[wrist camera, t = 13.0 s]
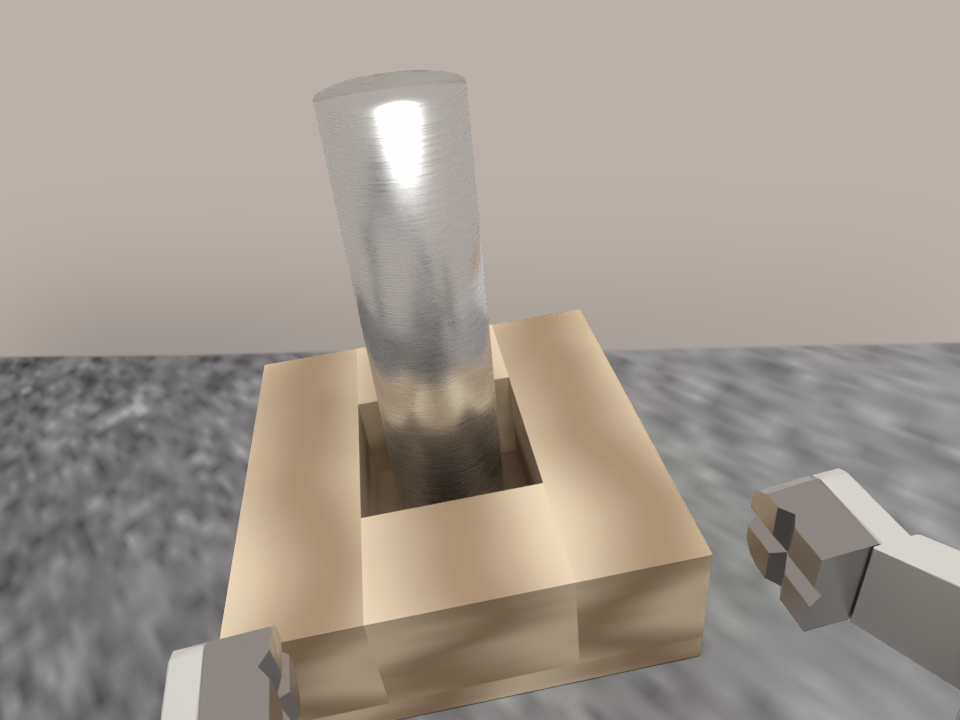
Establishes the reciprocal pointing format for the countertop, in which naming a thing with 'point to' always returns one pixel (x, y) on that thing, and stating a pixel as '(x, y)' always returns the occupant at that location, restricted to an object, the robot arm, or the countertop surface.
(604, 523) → the socket block
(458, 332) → the pin
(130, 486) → the countertop surface
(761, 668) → the countertop surface
